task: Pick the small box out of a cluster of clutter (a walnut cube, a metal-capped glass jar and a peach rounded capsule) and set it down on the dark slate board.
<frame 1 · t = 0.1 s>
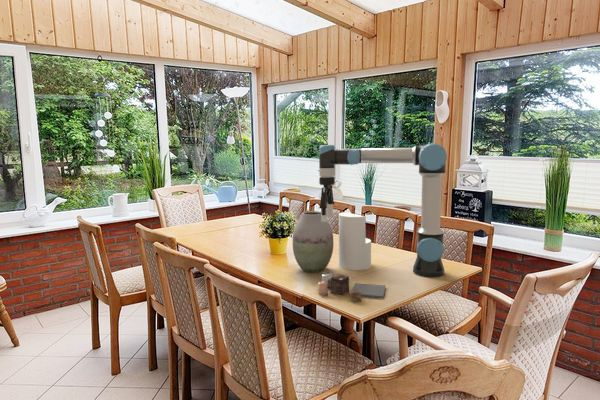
hand: (327, 219, 210), 28 cm above the table, fingers open, 13 cm apart
box: (339, 293, 186), on the table
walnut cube: (355, 300, 177), on the table
vase: (313, 269, 221), on the table
peach rounded capsule: (322, 293, 185), on the table
cylinder: (354, 265, 227), on the table
metal-capped glass jar: (327, 287, 194), on the table
slate board: (368, 291, 187), on the table
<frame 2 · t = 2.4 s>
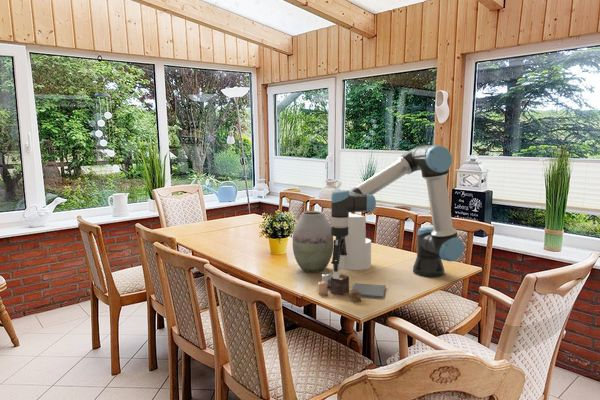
hand: (339, 273, 185), 9 cm above the table, fingers open, 13 cm apart
nothing on the table moved.
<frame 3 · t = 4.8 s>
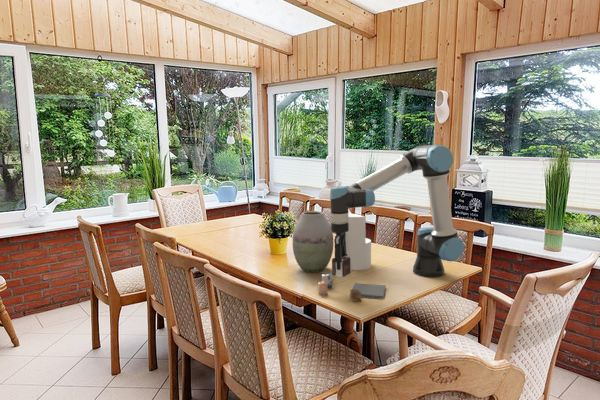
hand: (341, 273, 185), 9 cm above the table, fingers closed on box, 8 cm apart
box: (341, 274, 185), point 8 cm above the table, touching gripper
everything else where it was.
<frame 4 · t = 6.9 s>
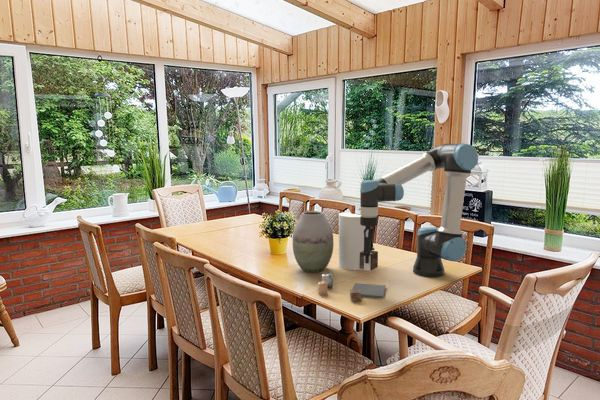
hand: (368, 267, 185), 11 cm above the table, fingers closed on box, 8 cm apart
box: (368, 268, 185), point 11 cm above the table, touching gripper
everything else where it was.
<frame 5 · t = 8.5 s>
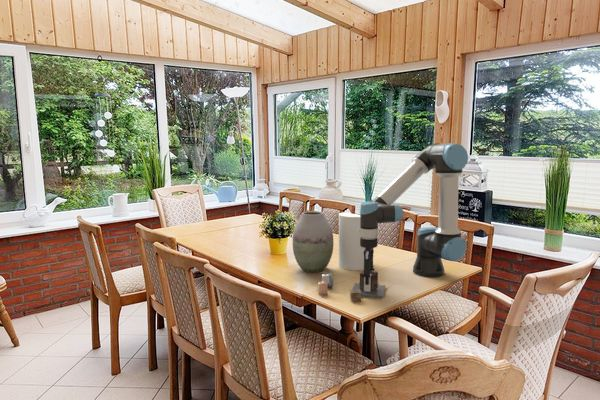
hand: (368, 288, 187), 2 cm above the table, fingers closed on box, 8 cm apart
box: (368, 289, 187), point 1 cm above the table, touching gripper
everything else where it was.
when the fingers open (2 cm above the table, at t = 9.3 s): box stays where it is, resting on slate board.
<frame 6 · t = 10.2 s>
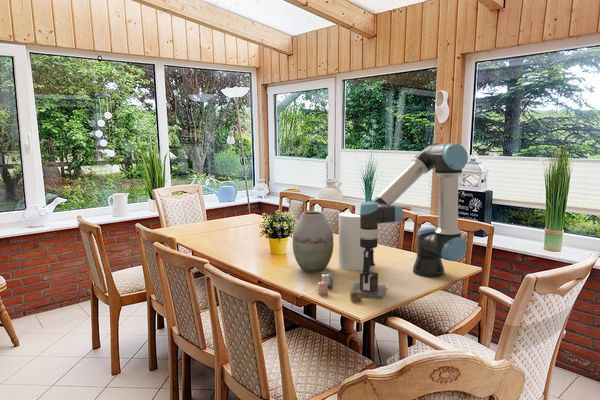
hand: (368, 284, 186), 3 cm above the table, fingers open, 13 cm apart
box: (368, 289, 187), point 1 cm above the table, touching slate board
everything else where it was.
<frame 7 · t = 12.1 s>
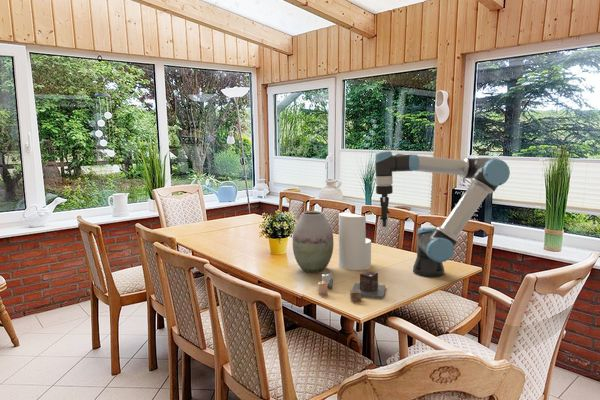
hand: (385, 230, 197), 25 cm above the table, fingers open, 13 cm apart
nothing on the table moved.
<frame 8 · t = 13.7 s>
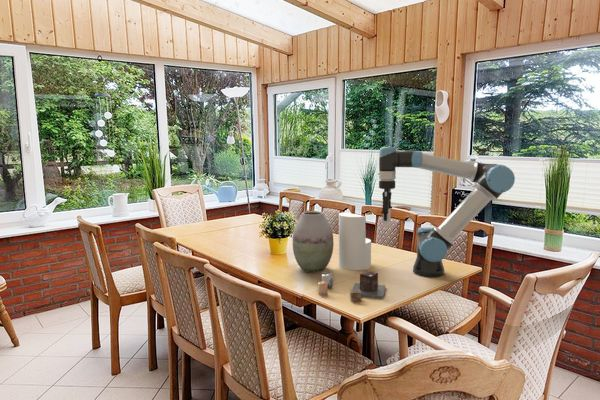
hand: (386, 224, 201), 27 cm above the table, fingers open, 13 cm apart
nothing on the table moved.
at the end: box inside the target area on the slate board (0.2 cm from its centre), point 1.0 cm above the slate board's base; box tilted 0°; the gripper is holding nothing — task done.
